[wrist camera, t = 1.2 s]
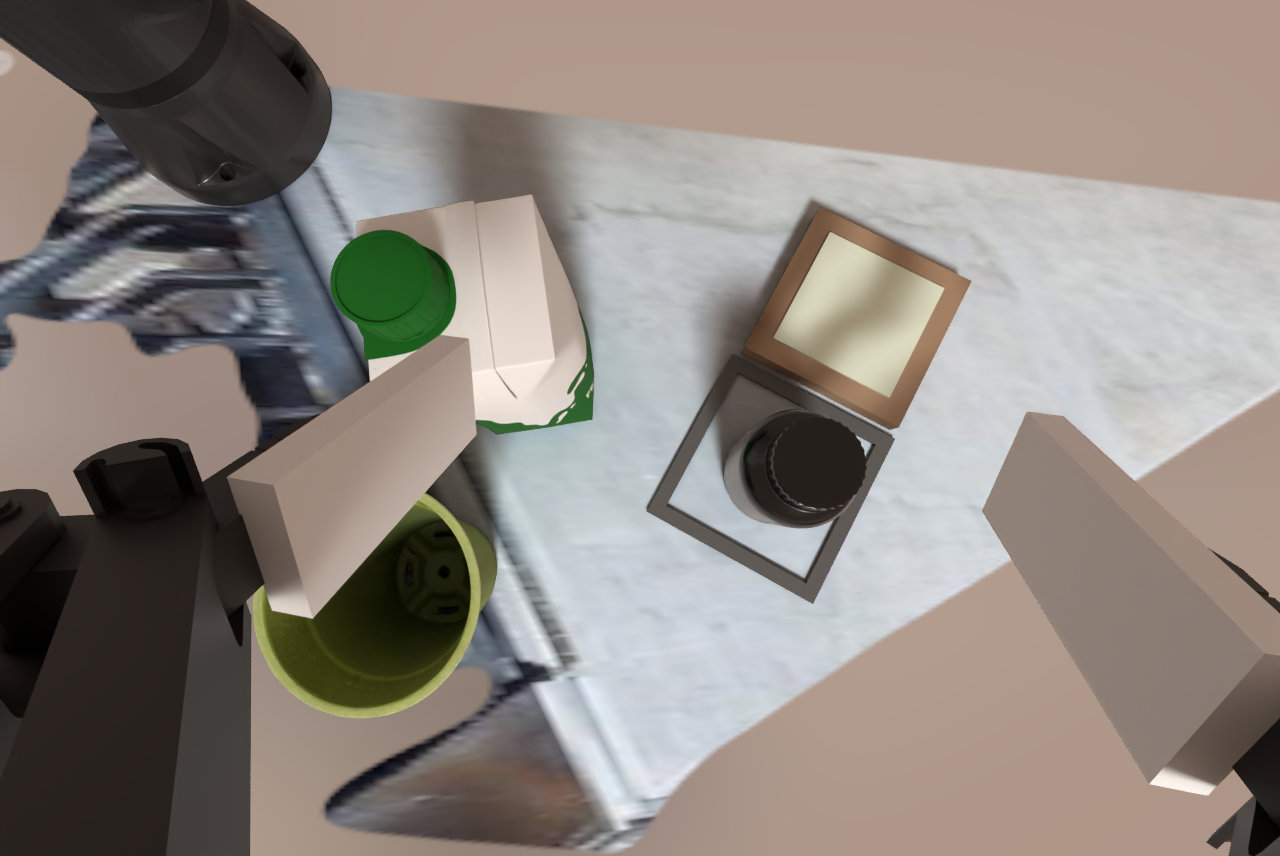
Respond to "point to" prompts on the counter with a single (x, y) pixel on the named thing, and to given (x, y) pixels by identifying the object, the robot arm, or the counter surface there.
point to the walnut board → (857, 318)
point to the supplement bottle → (795, 469)
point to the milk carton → (474, 306)
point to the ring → (734, 551)
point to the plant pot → (385, 620)
